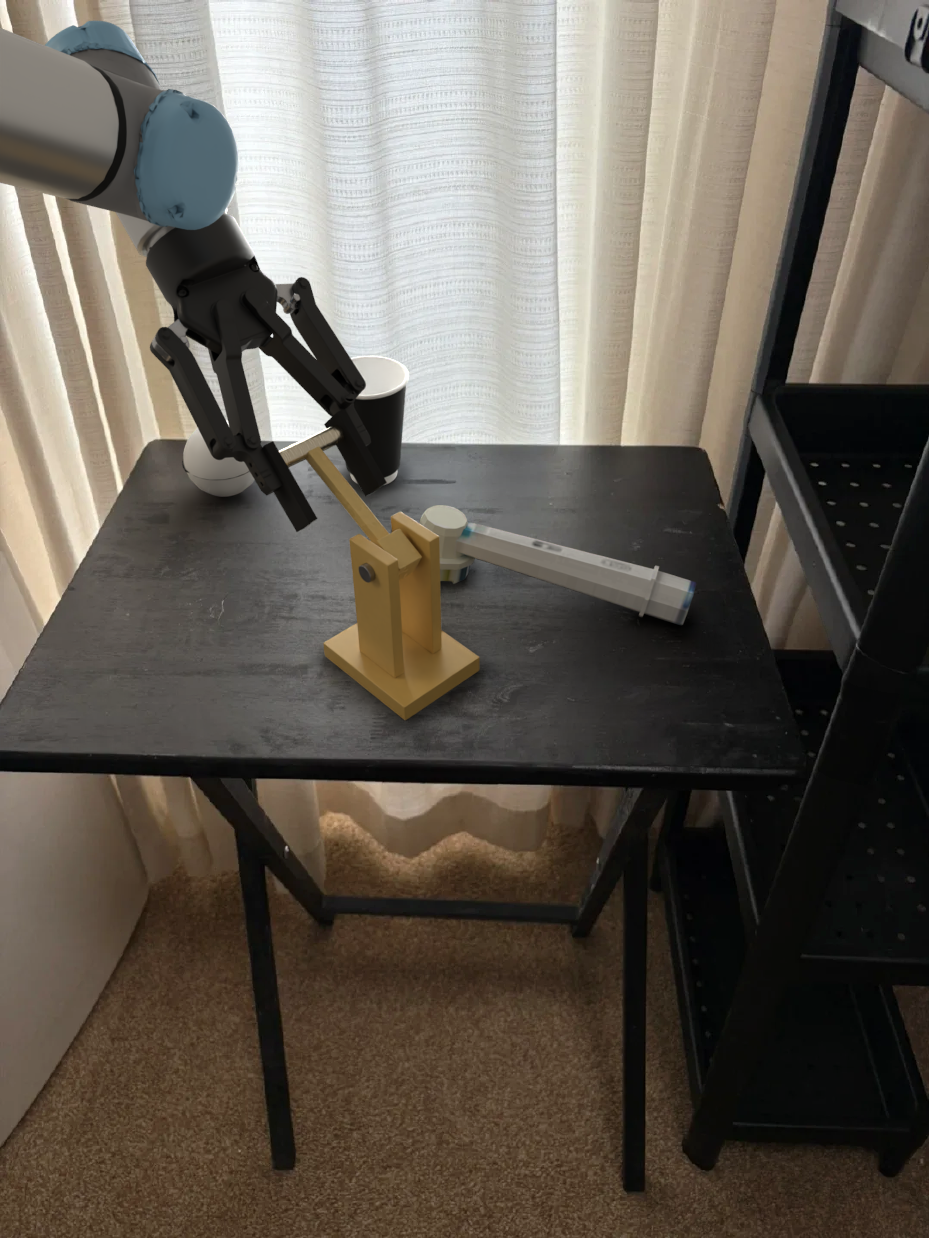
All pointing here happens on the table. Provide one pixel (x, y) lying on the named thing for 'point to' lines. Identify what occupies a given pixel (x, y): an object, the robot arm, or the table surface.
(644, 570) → the white handheld electric wand
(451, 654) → the yellow lever stand
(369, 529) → the tap lever
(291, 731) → the table surface
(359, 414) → the dixie cup
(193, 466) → the white sphere
